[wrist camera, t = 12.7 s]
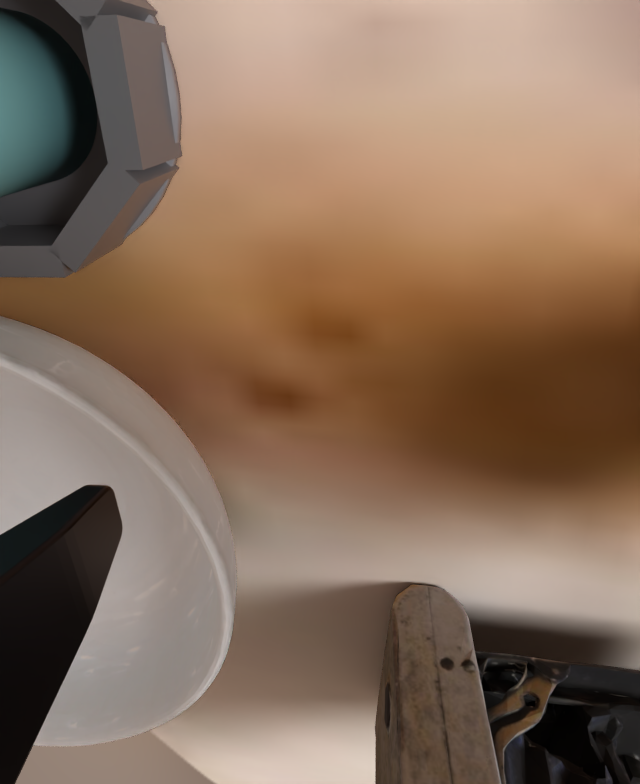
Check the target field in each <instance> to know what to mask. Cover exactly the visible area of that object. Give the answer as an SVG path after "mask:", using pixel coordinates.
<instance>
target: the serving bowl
mask: <svg viewBox="0 0 640 784" xmlns="http://www.w3.org/2000/svg"><path fill="white" fill-rule="evenodd" d="M85 485H108V486H110V487H111V488H112V489H113V490H114V493H115V497H116V500H117V504H118V508H119V512H120V516H121V520H122V527H123V529H122V536H121V539H120V542H119V545H118V548H117V551H116V554H115V557H114V560H113V562H112V565H111V568H110V571H109V574H108V577H107V580H106V583H105V585H104V588H103V591H102V594H101V597H100V600H99V603H98V605H97V608H96V611H95V613H94V616H93V619H92V621H91V623H90V626H89V628H88V630H87V632H86V635H85V637H84V639H83V641H82V643H81V645H80V647H79V649H78V652H77V654H76V656H75V658H74V660H73V662H72V664H71V666H70V668H69V671H68V673H67V675H66V677H65V679H64V681H63V683H62V685H61V687H60V690H59V692H58V694H57V696H56V698H55V700H54V702H53V704H52V706H51V709H50V711H49V713H48V715H47V717H46V719H45V721H44V723H43V725H42V728H41V730H40V732H39V734H38V736H37V738H36V740H35V742H34V745H33V746H56V747H60V746H61V747H66V746H67V747H69V746H84V745H95V744H101V743H107V742H112V741H116V740H121V739H125V738H128V737H133V736H136V735H139V734H141V733H144V732H147V731H149V730H151V729H154V728H156V727H158V726H160V725H162V724H164V723H166V722H168V721H170V720H172V719H173V718H175V717H177V716H178V715H179V714H181V713H182V712H184V711H185V710H186V709H188V708H189V707H190V706H191V705H192V704H194V703H195V702H196V701H197V700H198V699H199V698H200V697H201V696H202V695H203V694H204V692H205V691H206V690H207V689H208V687H209V686H210V685H211V683H212V682H213V681H214V679H215V677H216V676H217V674H218V672H219V671H220V669H221V667H222V665H223V662H224V660H225V658H226V655H227V652H228V649H229V645H230V641H231V637H232V632H233V624H234V615H235V604H236V590H237V568H236V557H235V548H234V541H233V536H232V531H231V527H230V523H229V519H228V516H227V513H226V509H225V506H224V503H223V501H222V498H221V496H220V493H219V491H218V488H217V486H216V484H215V482H214V479H213V477H212V475H211V474H210V472H209V470H208V468H207V466H206V464H205V463H204V461H203V459H202V458H201V456H200V454H199V453H198V451H197V450H196V448H195V447H194V445H193V444H192V442H191V441H190V440H189V438H188V437H187V436H186V435H185V433H184V432H183V431H182V429H181V428H180V427H179V425H178V424H177V423H176V422H175V421H174V420H173V419H172V418H171V416H170V415H169V414H168V413H167V412H166V411H165V410H164V409H163V408H162V407H161V406H160V405H159V404H158V403H157V402H156V401H155V400H154V399H153V398H152V397H151V396H150V395H149V394H148V393H147V392H145V391H144V390H143V389H142V388H141V387H139V386H138V385H137V384H136V383H134V382H133V381H132V380H131V379H129V378H128V377H127V376H125V375H124V374H123V373H121V372H120V371H118V370H117V369H116V368H114V367H113V366H111V365H110V364H108V363H107V362H105V361H103V360H102V359H100V358H99V357H97V356H95V355H94V354H92V353H90V352H88V351H87V350H85V349H83V348H82V347H80V346H78V345H75V344H73V343H71V342H69V341H67V340H65V339H63V338H61V337H59V336H56V335H54V334H51V333H49V332H47V331H44V330H42V329H39V328H36V327H34V326H31V325H28V324H25V323H22V322H19V321H16V320H13V319H9V318H6V317H2V316H0V535H1V534H2V533H4V532H6V531H7V530H9V529H11V528H13V527H14V526H16V525H18V524H19V523H21V522H23V521H25V520H26V519H28V518H30V517H31V516H33V515H35V514H37V513H38V512H40V511H42V510H43V509H45V508H47V507H49V506H50V505H52V504H54V503H55V502H57V501H59V500H61V499H62V498H64V497H66V496H67V495H69V494H71V493H73V492H74V491H76V490H78V489H79V488H81V487H83V486H85Z"/></svg>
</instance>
